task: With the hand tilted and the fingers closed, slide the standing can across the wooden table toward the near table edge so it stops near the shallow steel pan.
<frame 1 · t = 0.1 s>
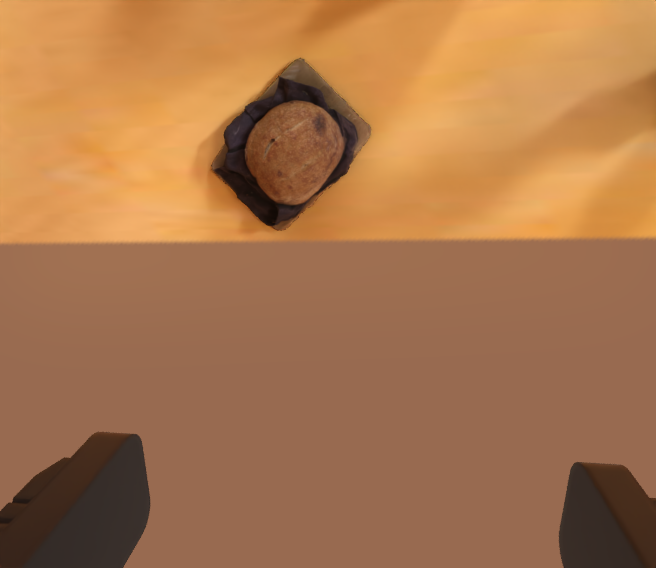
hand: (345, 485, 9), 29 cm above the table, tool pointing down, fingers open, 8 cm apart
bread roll: (290, 149, 36), on the table
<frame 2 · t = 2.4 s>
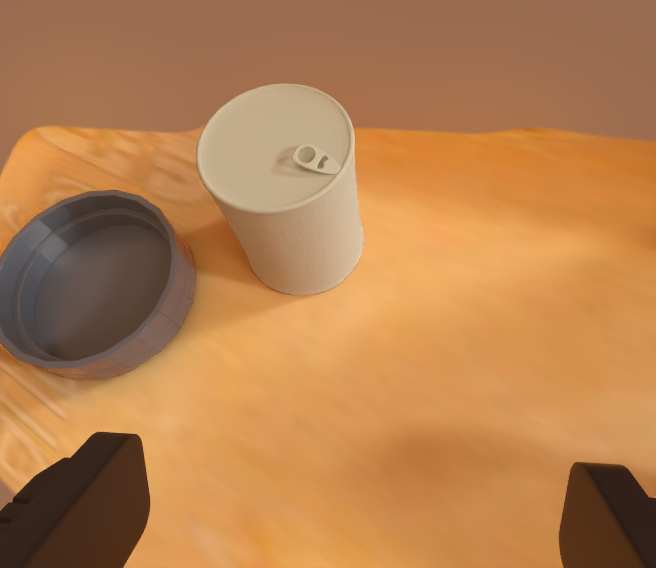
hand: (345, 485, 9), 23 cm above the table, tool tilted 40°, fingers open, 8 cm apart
pan: (111, 293, 38), on the table
can: (305, 243, 38), on the table
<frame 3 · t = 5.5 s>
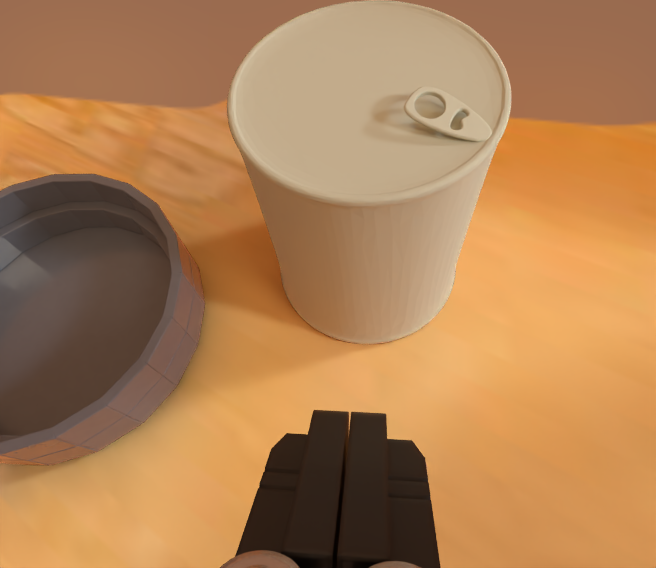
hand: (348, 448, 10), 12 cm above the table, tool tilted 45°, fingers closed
pan: (77, 326, 25), on the table
can: (366, 265, 26), on the table
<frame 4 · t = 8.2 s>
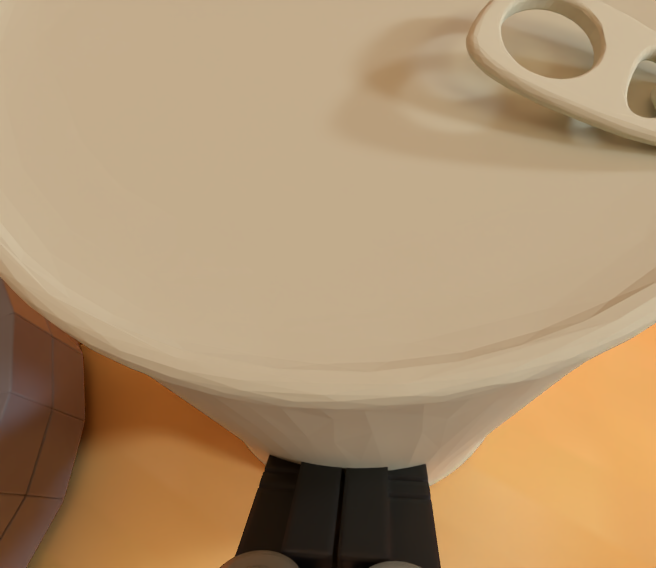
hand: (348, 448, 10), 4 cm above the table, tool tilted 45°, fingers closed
can: (359, 348, 16), on the table, touching gripper
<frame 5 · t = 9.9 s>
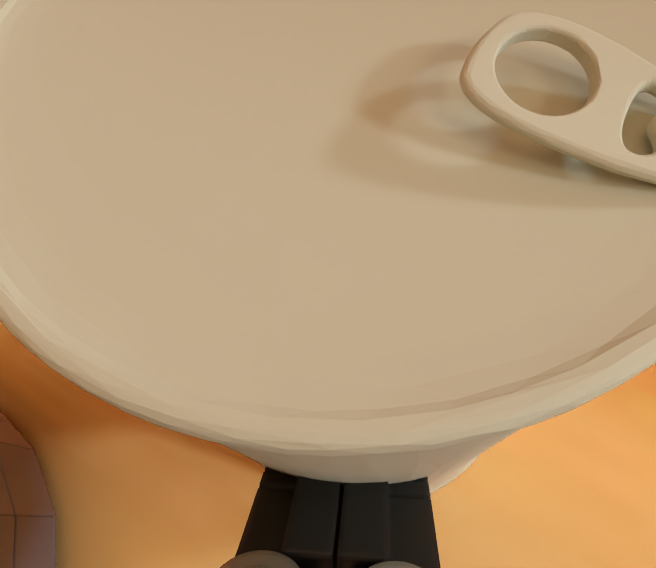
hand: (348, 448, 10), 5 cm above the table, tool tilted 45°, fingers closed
can: (361, 354, 16), on the table, touching gripper
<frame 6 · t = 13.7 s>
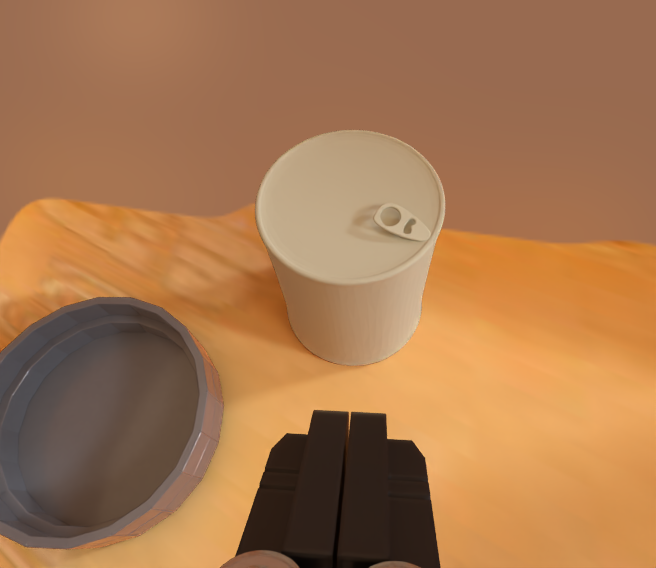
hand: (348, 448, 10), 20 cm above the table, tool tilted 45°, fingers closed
pan: (117, 422, 30), on the table
can: (353, 303, 33), on the table
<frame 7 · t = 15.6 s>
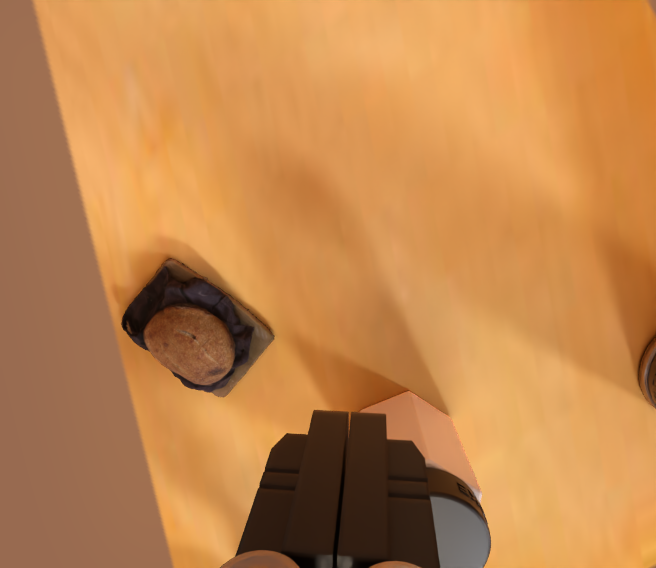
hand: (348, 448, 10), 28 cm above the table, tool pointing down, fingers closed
jar: (401, 434, 42), on the table
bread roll: (199, 328, 39), on the table
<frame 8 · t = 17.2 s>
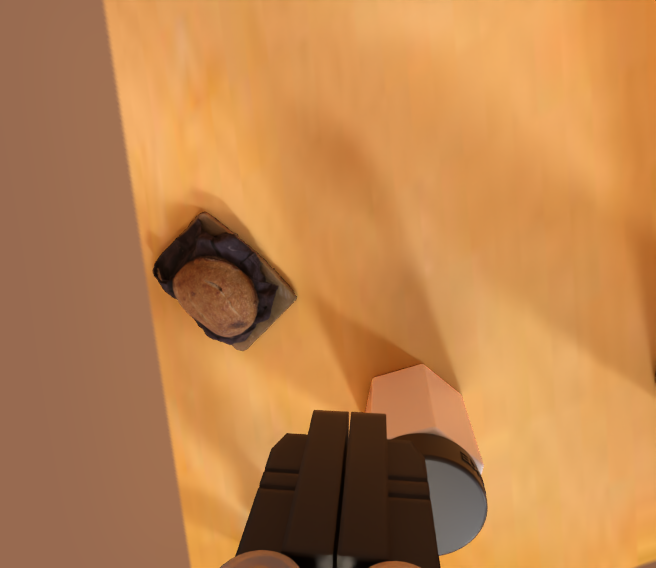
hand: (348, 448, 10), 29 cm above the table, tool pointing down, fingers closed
jar: (411, 406, 43), on the table
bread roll: (225, 282, 41), on the table
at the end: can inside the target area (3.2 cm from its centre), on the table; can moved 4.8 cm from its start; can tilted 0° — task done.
